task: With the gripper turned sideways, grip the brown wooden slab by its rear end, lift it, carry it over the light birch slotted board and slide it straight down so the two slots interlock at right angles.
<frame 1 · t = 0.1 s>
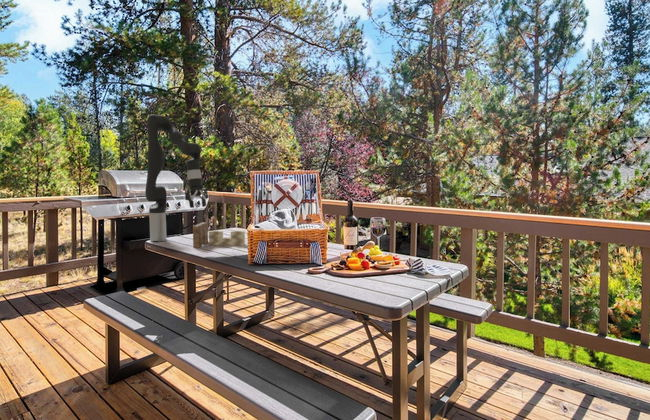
hand: (198, 207, 236), 22 cm above the table, tool pointing down, fingers open, 8 cm apart
birch board: (227, 245, 241), on the table
brown wooden slab: (201, 244, 242), on the table
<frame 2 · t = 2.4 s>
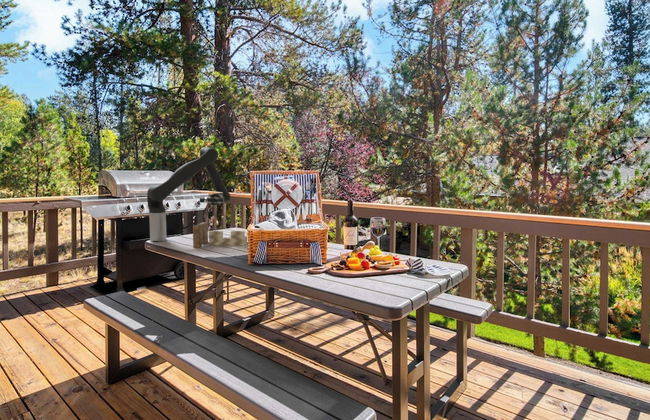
hand: (208, 200, 257), 24 cm above the table, tool horizontal, fingers open, 8 cm apart
nothing on the table moved.
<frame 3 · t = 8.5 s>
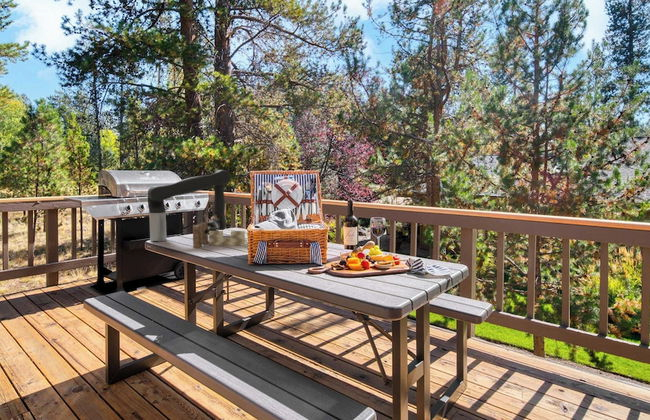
hand: (202, 231, 245), 7 cm above the table, tool horizontal, fingers closed on brown wooden slab, 3 cm apart
brown wooden slab: (201, 244, 242), on the table, touching gripper
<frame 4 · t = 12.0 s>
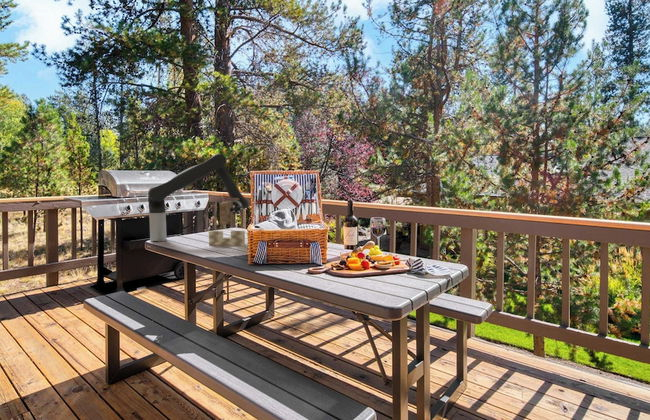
hand: (228, 210, 243), 20 cm above the table, tool horizontal, fingers closed on brown wooden slab, 3 cm apart
brown wooden slab: (226, 222, 240), point 13 cm above the table, touching gripper
when the fingers open (8 cm above the table, at t = 15.5 s): brown wooden slab stays where it is, on the table.
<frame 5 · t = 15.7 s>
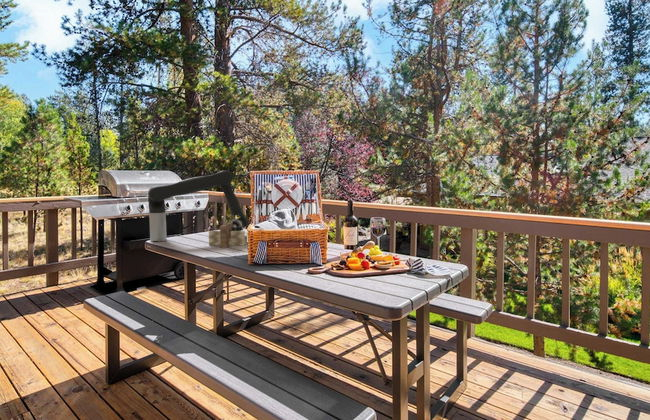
hand: (228, 230, 245), 8 cm above the table, tool horizontal, fingers open, 4 cm apart
brown wooden slab: (227, 244, 242), on the table
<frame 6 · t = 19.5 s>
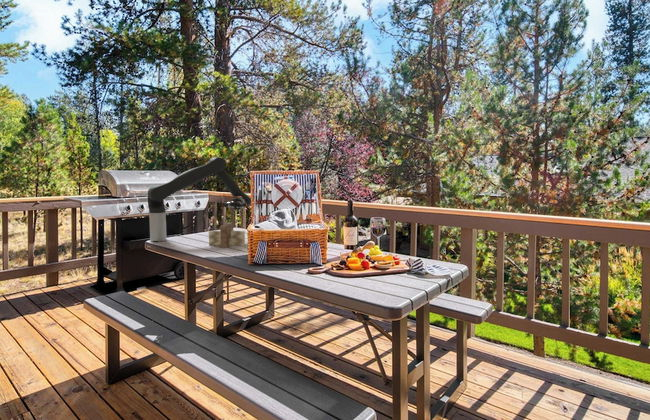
hand: (232, 205, 255), 21 cm above the table, tool horizontal, fingers open, 8 cm apart
nothing on the table moved.
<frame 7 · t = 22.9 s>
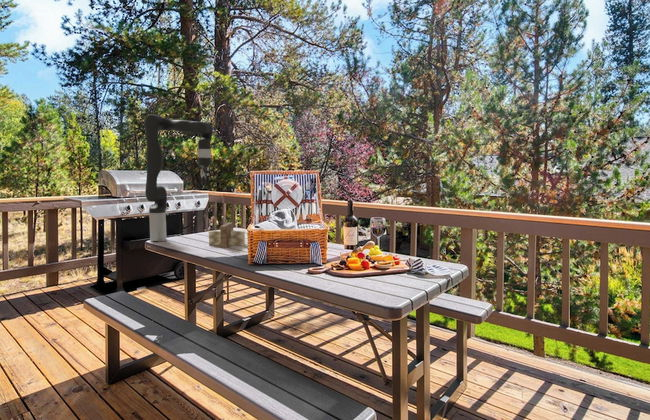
hand: (205, 185, 246), 34 cm above the table, tool pointing down, fingers open, 8 cm apart
nothing on the table moved.
at the end: brown wooden slab 0.4 cm off-centre on the birch board, point 0.0 cm above the birch board's base; brown wooden slab tilted 0°; the gripper is holding nothing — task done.
